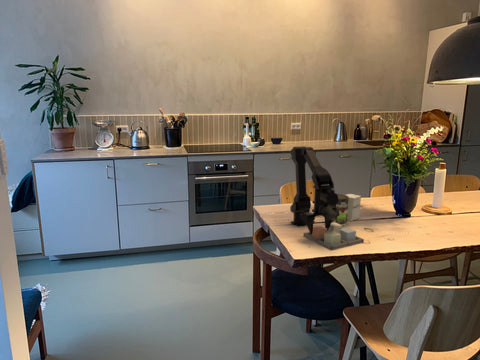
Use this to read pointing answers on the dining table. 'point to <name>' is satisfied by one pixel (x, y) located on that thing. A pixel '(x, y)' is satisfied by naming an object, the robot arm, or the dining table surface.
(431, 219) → the dining table surface
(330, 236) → the charcoal frame
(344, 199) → the coffee can
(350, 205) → the supplement box
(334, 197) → the robot arm
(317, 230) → the terracotta block
